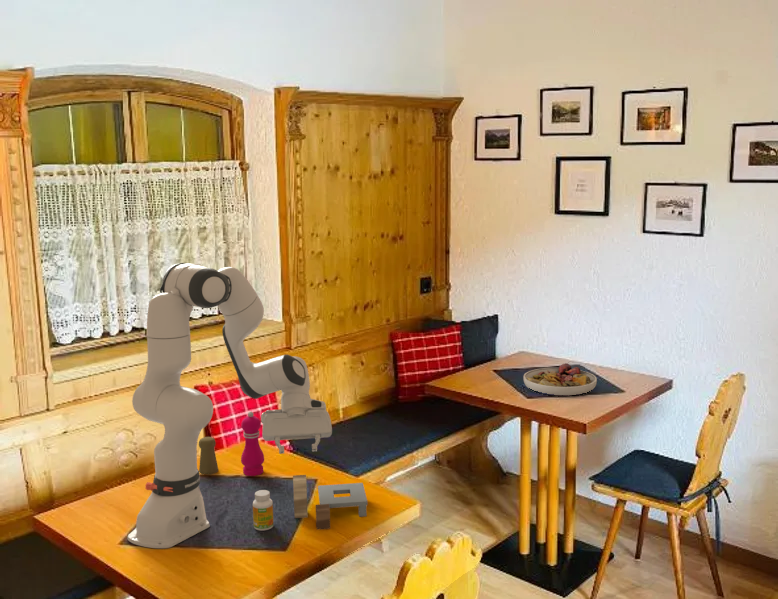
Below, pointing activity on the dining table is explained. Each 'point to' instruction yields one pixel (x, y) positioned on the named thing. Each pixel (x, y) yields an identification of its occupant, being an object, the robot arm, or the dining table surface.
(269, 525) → the supplement bottle
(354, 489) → the collar stand
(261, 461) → the pepper mill
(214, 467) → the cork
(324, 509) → the walnut peg
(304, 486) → the maple peg
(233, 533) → the dining table surface
